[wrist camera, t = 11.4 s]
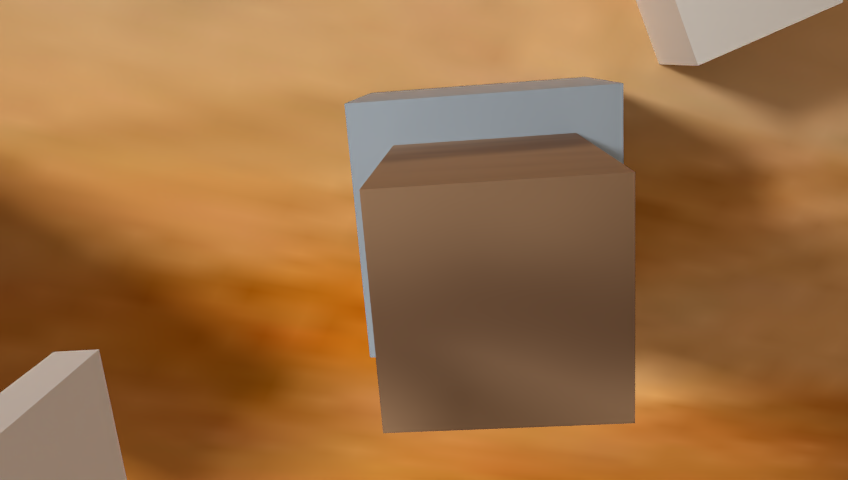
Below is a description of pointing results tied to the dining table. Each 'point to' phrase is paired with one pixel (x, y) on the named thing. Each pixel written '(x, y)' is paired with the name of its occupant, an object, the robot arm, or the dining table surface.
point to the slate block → (476, 125)
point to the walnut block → (502, 284)
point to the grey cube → (717, 25)
